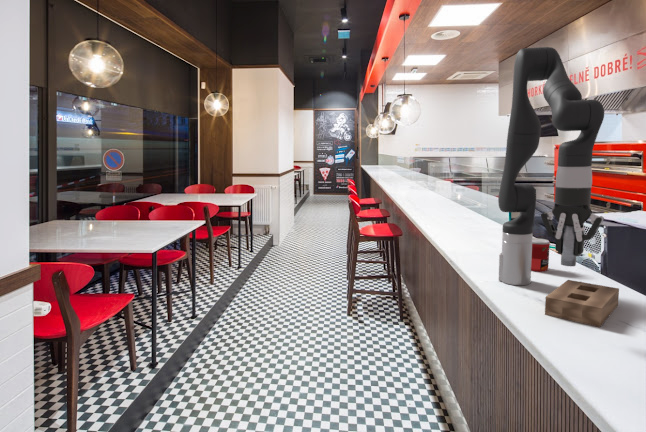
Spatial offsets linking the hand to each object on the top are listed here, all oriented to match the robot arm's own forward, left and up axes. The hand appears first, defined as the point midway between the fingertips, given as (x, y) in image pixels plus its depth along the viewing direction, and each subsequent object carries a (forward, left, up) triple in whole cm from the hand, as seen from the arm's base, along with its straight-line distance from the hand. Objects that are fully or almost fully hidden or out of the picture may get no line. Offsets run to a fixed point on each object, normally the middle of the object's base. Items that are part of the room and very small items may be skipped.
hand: (569, 254), depth 104 cm
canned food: (-23, +49, -19) cm, 58 cm away
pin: (0, 0, -3) cm, 3 cm away
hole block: (0, +15, -19) cm, 24 cm away
